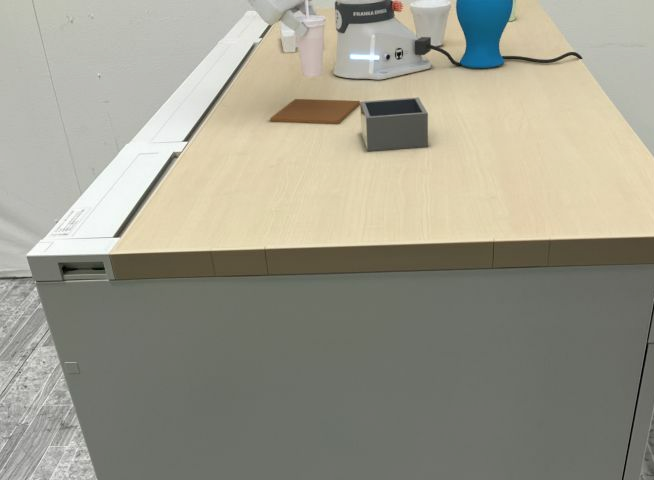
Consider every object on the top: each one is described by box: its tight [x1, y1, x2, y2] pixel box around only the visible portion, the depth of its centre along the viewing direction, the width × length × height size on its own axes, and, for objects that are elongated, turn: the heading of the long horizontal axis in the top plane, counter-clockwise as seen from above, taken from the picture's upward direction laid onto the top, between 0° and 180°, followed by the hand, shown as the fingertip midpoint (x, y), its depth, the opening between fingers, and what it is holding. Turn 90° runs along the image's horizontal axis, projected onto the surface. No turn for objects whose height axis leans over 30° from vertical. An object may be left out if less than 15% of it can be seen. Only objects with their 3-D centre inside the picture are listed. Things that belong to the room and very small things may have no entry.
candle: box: [508, 0, 517, 22], centre depth 224 cm, size 5×5×8 cm
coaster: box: [270, 98, 361, 125], centre depth 164 cm, size 14×14×1 cm
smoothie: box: [295, 0, 327, 78], centre depth 155 cm, size 6×6×14 cm
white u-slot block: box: [279, 10, 306, 53], centre depth 212 cm, size 10×18×10 cm, turn 6°
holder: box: [359, 96, 429, 152], centre depth 146 cm, size 11×11×6 cm
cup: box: [409, 0, 452, 48], centre depth 203 cm, size 10×10×9 cm
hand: (312, 29), depth 155 cm, fingers closed on smoothie, 6 cm apart
